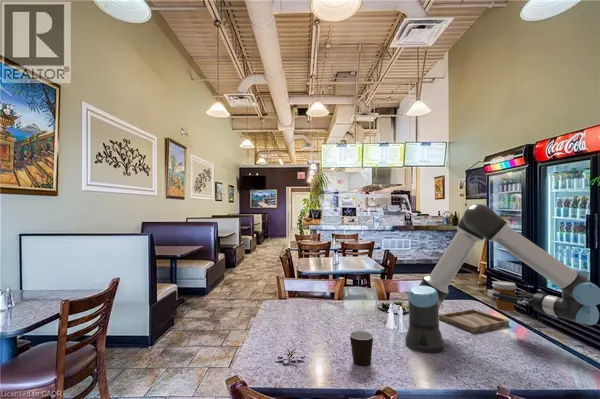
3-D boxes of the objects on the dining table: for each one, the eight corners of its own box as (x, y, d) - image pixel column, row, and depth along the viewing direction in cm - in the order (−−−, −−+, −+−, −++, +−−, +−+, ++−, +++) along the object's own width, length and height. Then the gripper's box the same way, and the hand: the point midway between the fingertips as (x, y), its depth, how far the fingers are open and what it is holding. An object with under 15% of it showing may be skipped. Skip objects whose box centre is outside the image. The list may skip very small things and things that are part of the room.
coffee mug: (369, 370, 109) (368, 341, 109) (346, 364, 113) (346, 336, 114) (379, 357, 119) (378, 331, 119) (358, 352, 123) (357, 326, 124)
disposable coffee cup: (515, 307, 143) (514, 281, 144) (520, 313, 135) (518, 286, 135) (491, 305, 147) (490, 280, 148) (494, 311, 139) (493, 284, 139)
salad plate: (390, 302, 193) (390, 295, 193) (418, 309, 180) (418, 300, 180) (373, 309, 179) (373, 301, 179) (402, 316, 166) (401, 308, 167)
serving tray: (472, 333, 141) (472, 327, 142) (438, 319, 160) (438, 314, 160) (508, 325, 150) (508, 320, 150) (472, 313, 169) (472, 309, 169)
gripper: (530, 317, 121) (478, 302, 142) (564, 310, 128) (510, 297, 149) (529, 297, 121) (478, 285, 143) (563, 292, 128) (509, 281, 150)
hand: (494, 291), depth 146 cm, fingers closed on disposable coffee cup, 8 cm apart
